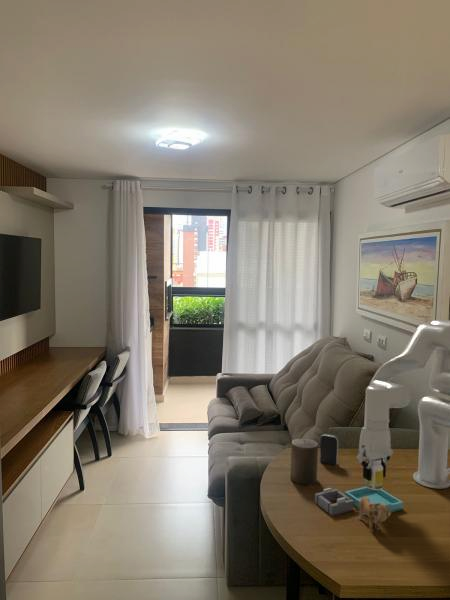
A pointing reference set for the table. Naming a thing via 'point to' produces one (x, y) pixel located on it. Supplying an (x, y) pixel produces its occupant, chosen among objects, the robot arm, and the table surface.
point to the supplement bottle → (376, 476)
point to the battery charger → (329, 449)
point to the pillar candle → (304, 461)
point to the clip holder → (341, 506)
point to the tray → (375, 498)
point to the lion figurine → (373, 512)
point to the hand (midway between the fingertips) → (374, 476)
